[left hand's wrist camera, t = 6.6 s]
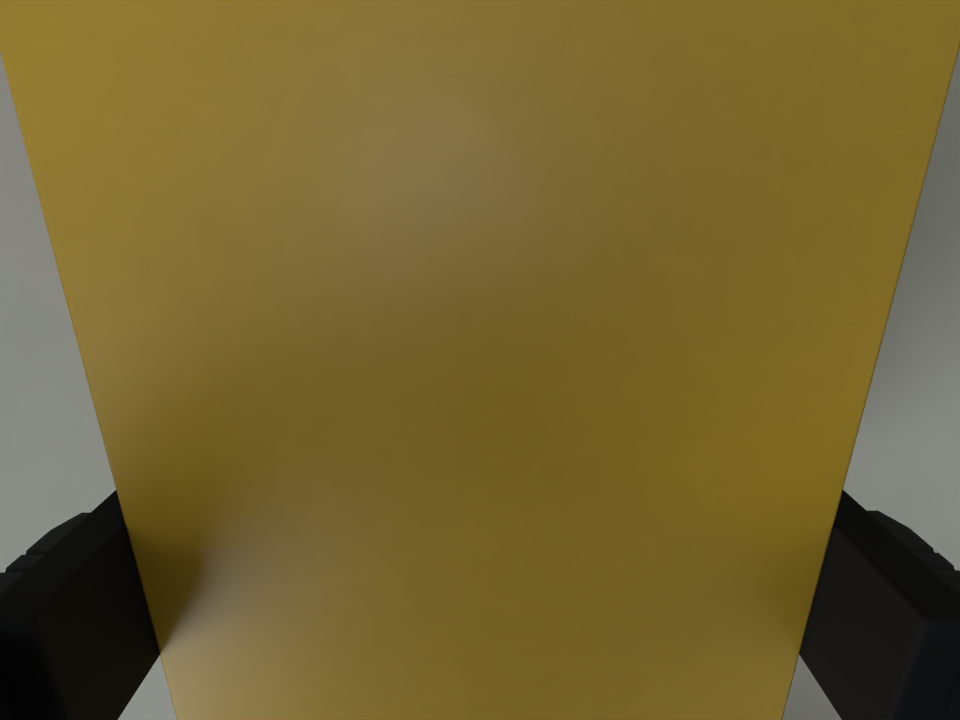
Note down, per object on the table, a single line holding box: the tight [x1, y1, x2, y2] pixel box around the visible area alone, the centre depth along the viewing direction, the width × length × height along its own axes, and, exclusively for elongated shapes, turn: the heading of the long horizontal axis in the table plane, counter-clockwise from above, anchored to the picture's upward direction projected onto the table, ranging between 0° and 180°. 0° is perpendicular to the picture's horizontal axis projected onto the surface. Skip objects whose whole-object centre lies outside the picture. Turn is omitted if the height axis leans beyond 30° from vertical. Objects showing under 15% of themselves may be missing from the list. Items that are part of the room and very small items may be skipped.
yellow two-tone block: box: [0, 0, 960, 720], centre depth 11 cm, size 19×11×8 cm, turn 0°
